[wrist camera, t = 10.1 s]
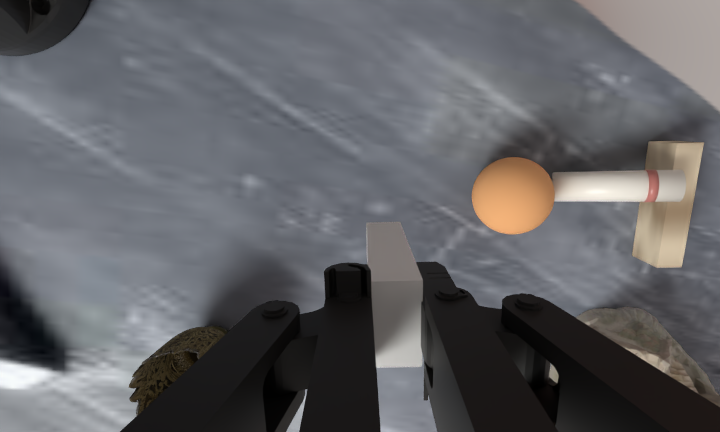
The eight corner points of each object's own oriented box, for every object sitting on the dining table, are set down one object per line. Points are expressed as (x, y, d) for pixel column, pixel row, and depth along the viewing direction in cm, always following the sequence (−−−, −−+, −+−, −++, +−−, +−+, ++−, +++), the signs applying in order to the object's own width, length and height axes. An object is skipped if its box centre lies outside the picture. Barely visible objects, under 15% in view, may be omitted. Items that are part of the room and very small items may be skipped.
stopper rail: (648, 141, 32) (677, 143, 29) (672, 140, 32) (703, 142, 29) (632, 255, 35) (656, 267, 32) (654, 254, 35) (681, 267, 32)
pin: (554, 172, 31) (687, 169, 28) (551, 170, 33) (674, 167, 30) (553, 203, 31) (684, 204, 28) (550, 199, 33) (671, 200, 30)
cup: (266, 319, 36) (240, 373, 28) (243, 383, 38) (213, 451, 30) (188, 293, 36) (139, 341, 28) (168, 360, 37) (118, 422, 29)
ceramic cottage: (690, 456, 40) (880, 639, 25) (529, 437, 40) (621, 606, 25) (731, 313, 37) (970, 421, 22) (558, 293, 37) (680, 388, 22)
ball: (553, 153, 31) (476, 155, 34) (560, 159, 26) (467, 161, 28) (550, 225, 33) (475, 222, 35) (555, 246, 27) (467, 241, 29)
